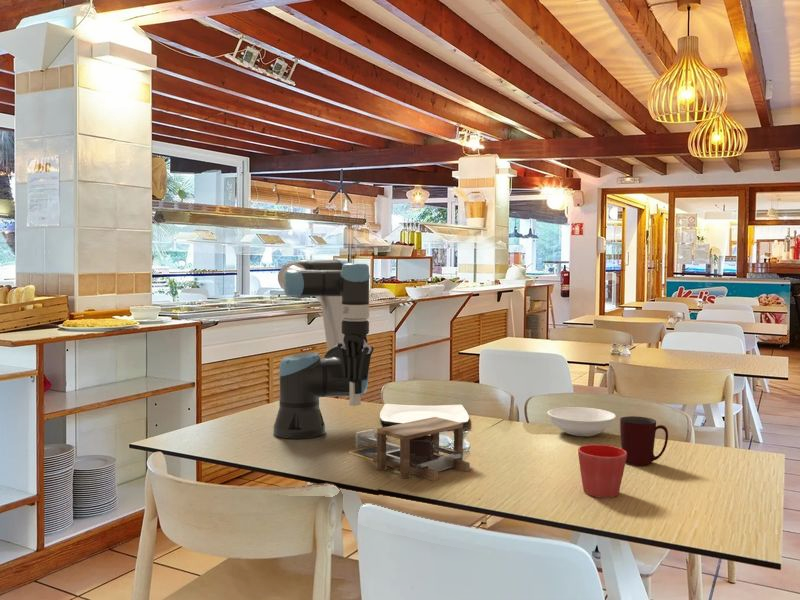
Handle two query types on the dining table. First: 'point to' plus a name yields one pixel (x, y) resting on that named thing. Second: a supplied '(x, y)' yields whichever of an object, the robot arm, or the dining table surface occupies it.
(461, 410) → the plate
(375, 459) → the tunnel
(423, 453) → the box
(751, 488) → the dining table surface
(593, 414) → the bowl
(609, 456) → the flower pot
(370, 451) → the mat
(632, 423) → the mug
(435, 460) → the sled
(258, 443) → the dining table surface
